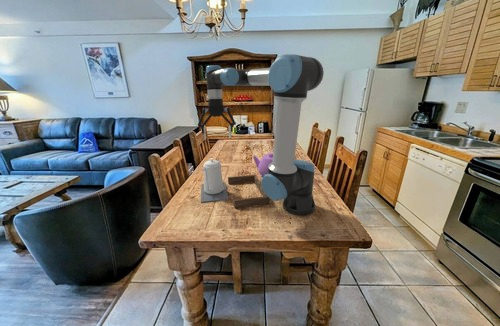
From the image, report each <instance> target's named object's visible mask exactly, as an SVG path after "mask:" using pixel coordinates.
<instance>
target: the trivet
mask: <svg viewBox="0 0 500 326" xmlns="http://www.w3.org/2000/svg"><path fill="white" fill-rule="evenodd" d="M223 186H224V189H223V191H222V192H220V193H218V194H207V193H206V192H205V191H204V183H201V185H200V203H201V204H202V203H204V204H205V203H211V202H221V201H229V196H228V195H229V193H228V191H227V187H226V182H224V181H223Z"/></svg>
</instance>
